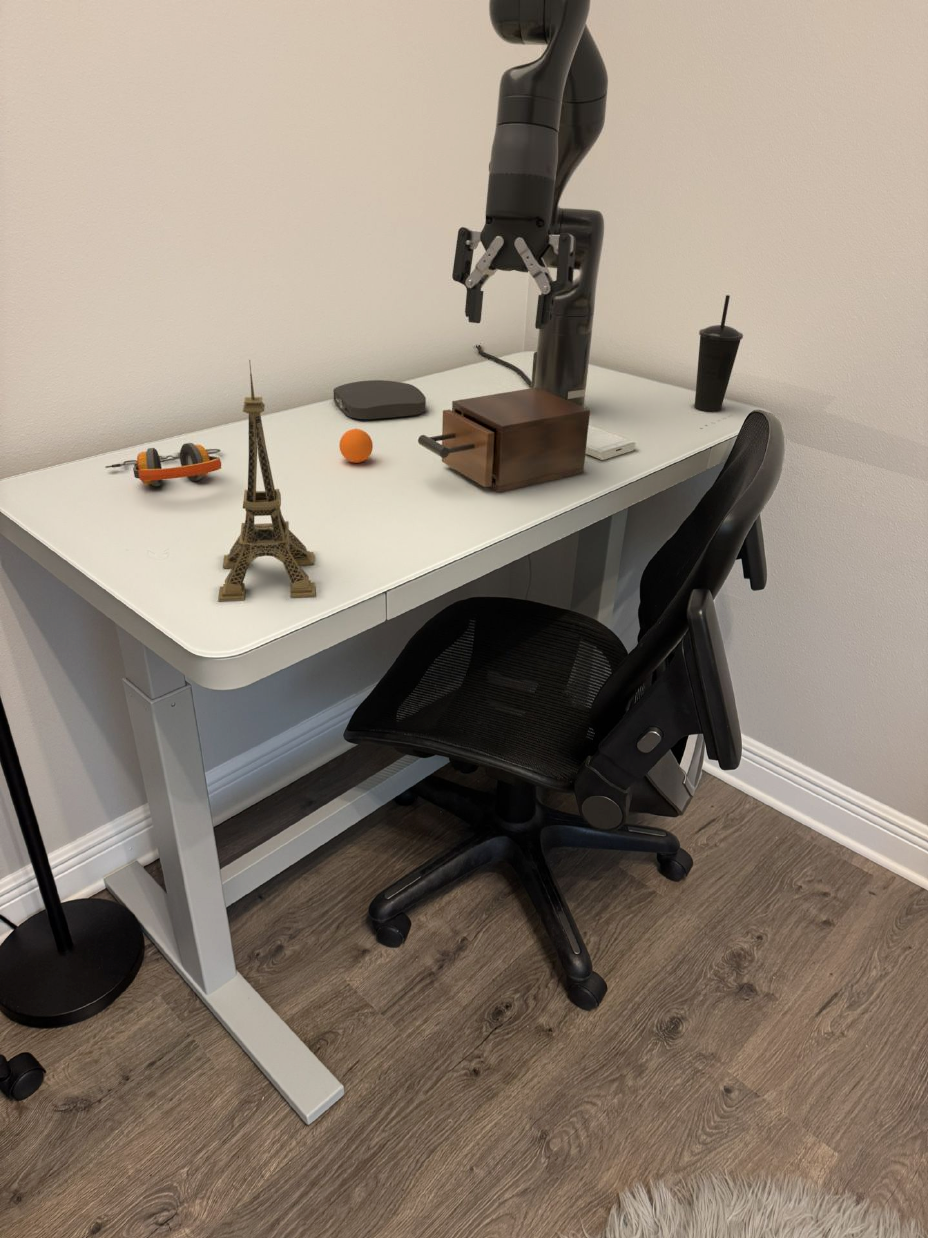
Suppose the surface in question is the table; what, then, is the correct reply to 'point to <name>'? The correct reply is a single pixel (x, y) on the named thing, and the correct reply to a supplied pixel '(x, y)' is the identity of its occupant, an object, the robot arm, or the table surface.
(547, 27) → the robot arm
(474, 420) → the drawer
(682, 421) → the table surface
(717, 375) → the drinking cup
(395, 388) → the media streaming box
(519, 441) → the cabinet
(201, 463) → the headphones
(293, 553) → the eiffel tower
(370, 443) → the ball
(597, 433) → the hard drive
